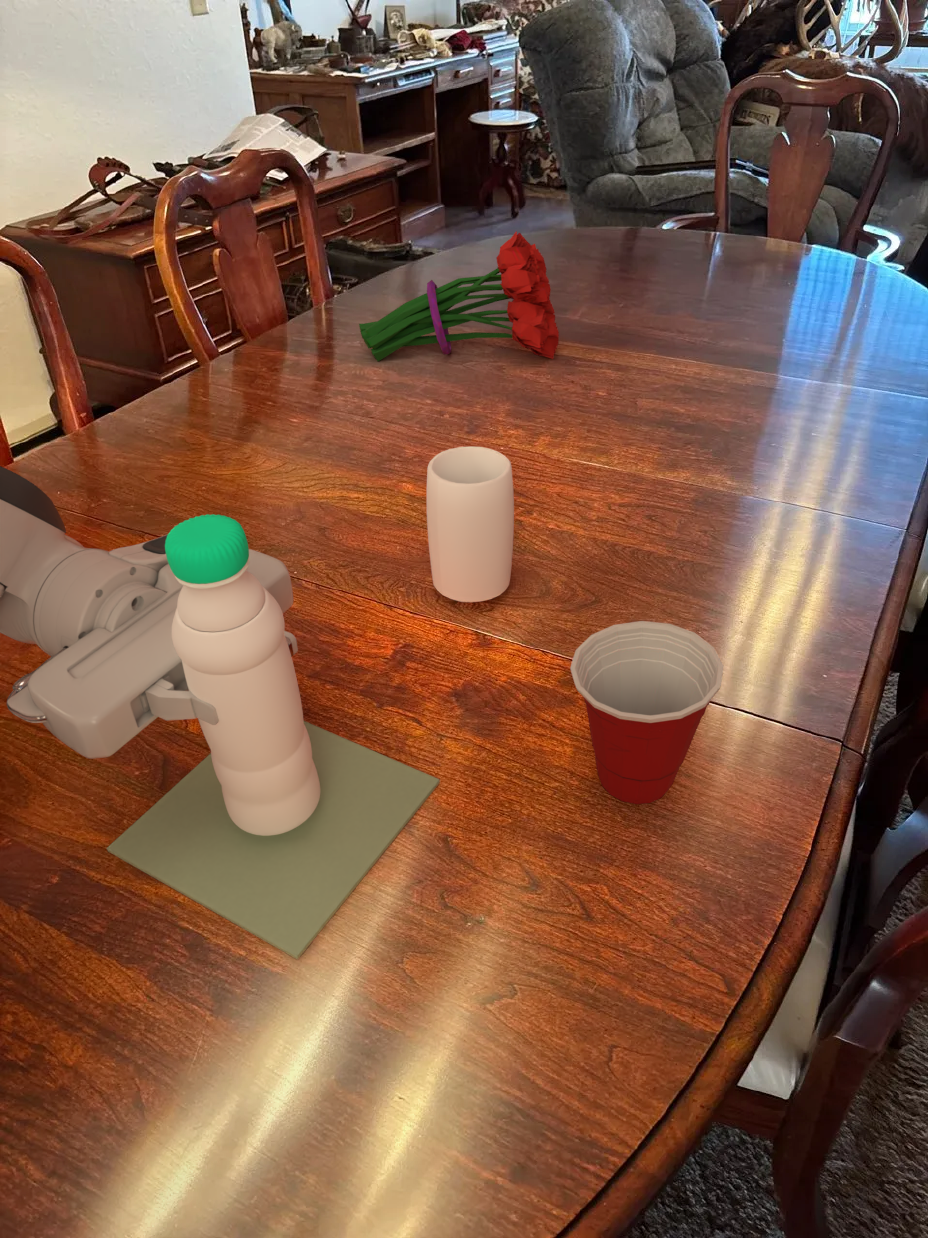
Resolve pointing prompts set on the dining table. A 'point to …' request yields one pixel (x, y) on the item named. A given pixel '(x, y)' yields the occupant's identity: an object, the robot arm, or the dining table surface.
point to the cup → (470, 522)
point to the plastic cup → (644, 702)
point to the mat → (279, 842)
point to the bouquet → (430, 313)
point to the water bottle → (241, 677)
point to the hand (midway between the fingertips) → (258, 678)
